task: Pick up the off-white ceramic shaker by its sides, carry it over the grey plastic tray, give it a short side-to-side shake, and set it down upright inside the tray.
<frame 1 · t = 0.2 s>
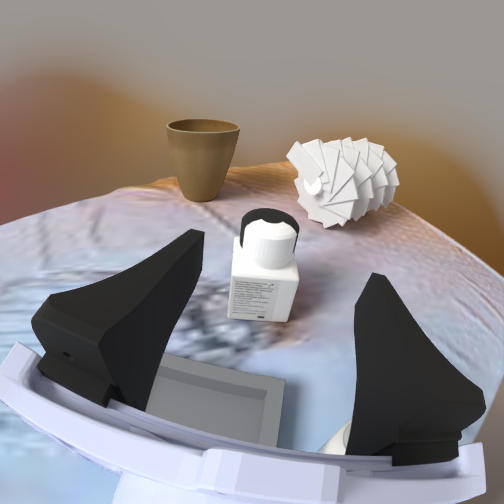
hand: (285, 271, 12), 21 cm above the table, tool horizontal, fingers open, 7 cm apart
tray: (185, 428, 25), on the table
shaker: (334, 461, 23), on the table
container: (256, 301, 41), on the table
plant pot: (199, 195, 65), on the table
spiral staircase: (338, 214, 66), on the table
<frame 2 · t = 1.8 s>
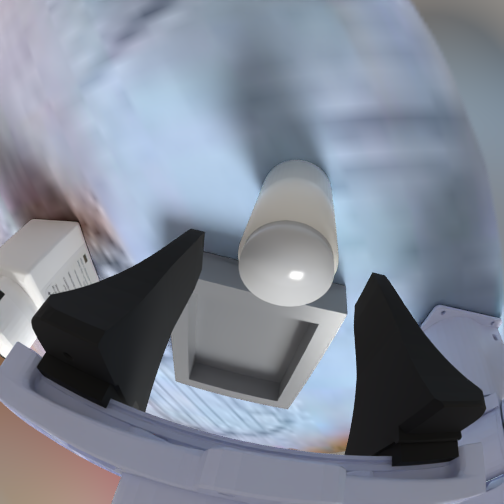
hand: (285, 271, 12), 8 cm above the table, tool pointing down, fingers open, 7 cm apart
tray: (247, 333, 28), on the table
shaker: (297, 192, 19), on the table
container: (66, 249, 27), on the table
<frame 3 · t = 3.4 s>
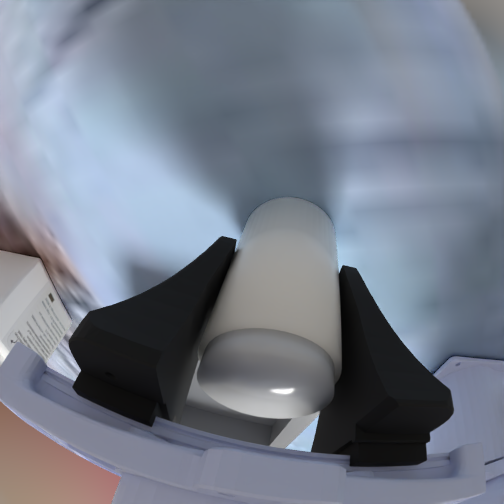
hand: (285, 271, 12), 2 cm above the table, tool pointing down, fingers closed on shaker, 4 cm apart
tray: (234, 382, 23), on the table
shaker: (289, 238, 14), on the table, touching gripper
container: (34, 283, 22), on the table
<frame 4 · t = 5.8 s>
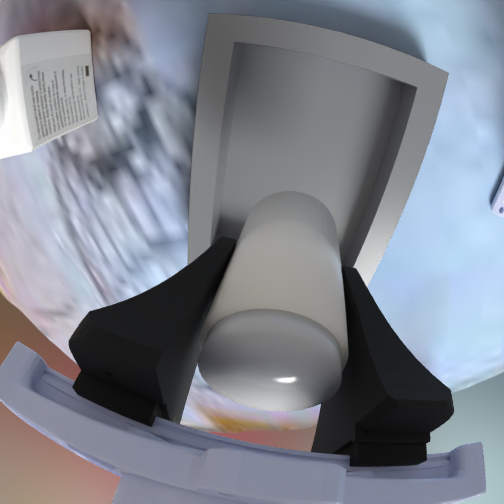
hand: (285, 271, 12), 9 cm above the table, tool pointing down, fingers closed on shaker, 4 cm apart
tray: (303, 159, 19), on the table
shaker: (290, 234, 14), point 7 cm above the table, touching gripper
container: (63, 82, 18), on the table
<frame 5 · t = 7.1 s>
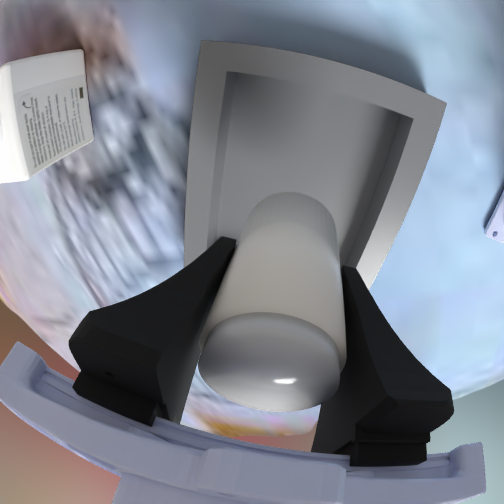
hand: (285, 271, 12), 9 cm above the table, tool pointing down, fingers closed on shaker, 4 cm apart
tray: (297, 186, 19), on the table
shaker: (290, 234, 14), point 6 cm above the table, touching gripper
container: (58, 102, 18), on the table
when the fingers open (4 cm above the table, at t = 8.3 s): shaker stays where it is, resting on tray.
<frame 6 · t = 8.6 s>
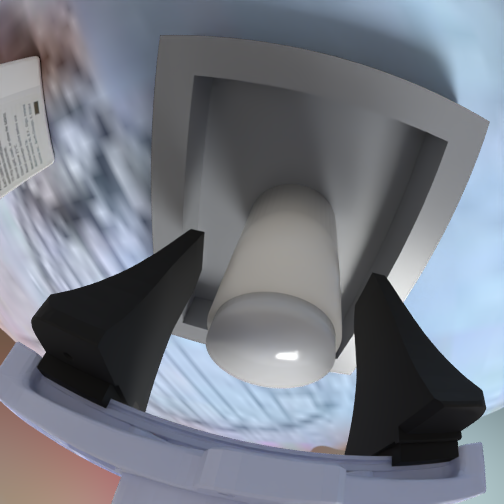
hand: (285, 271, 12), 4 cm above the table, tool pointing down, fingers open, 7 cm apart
tray: (292, 220, 16), on the table
shaker: (292, 224, 15), point 1 cm above the table, touching tray
container: (18, 117, 15), on the table
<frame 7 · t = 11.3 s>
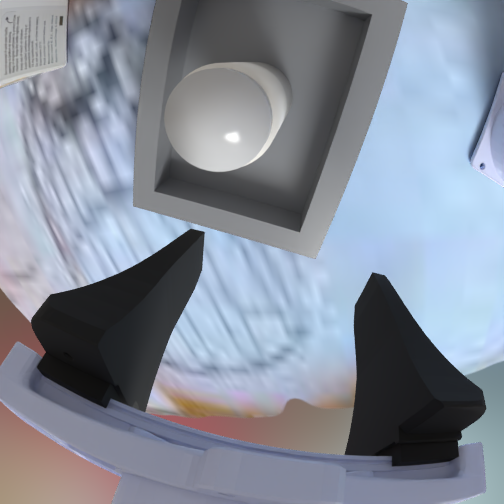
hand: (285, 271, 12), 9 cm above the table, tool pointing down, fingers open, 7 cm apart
tray: (257, 97, 17), on the table
shaker: (256, 95, 16), point 1 cm above the table, touching tray
container: (41, 35, 15), on the table
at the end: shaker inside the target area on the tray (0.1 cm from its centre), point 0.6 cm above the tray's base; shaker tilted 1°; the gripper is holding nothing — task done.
